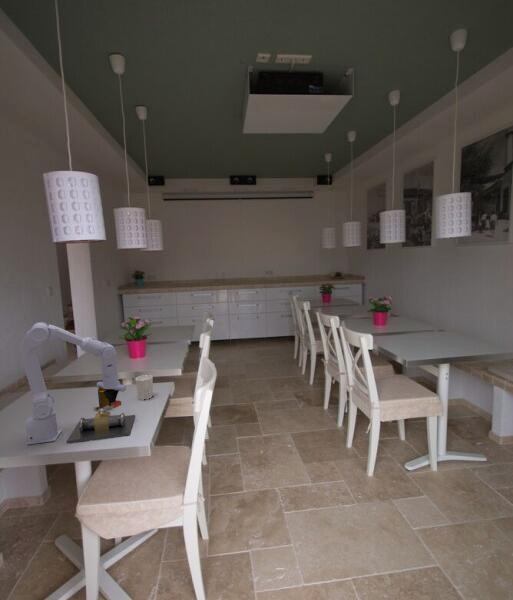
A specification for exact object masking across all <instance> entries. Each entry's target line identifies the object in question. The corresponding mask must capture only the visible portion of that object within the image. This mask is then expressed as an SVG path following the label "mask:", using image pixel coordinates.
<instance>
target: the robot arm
mask: <svg viewBox="0 0 513 600" xmlns="http://www.w3.org/2000/svg"><path fill="white" fill-rule="evenodd" d="M24 335H25V336H24V337H23V340H22V342H21V344H20V347H19V350H18V351H19V355H20V359H21V362H22V366H23V368H24V372H25V375H26V378H27V382H28V384H29V389H30V392H31V395H32V403H33V408H32V416H29V417H28V418H27V420H26V424H25V430H26V438H27V445H34V444H40V443H48V442H55V441H56V440H57V439H58V437H59V436H60V434H61V433H62V432H63V431H62V429H59V430H58V423H57V413H56V410H55V409H54V403H55V402H54V401H55V400H54V398H53V397H52V396H51V394H50V393H49V390H48V388H47V386H46V383H45V379H44V376H43V375H44V374H43V372H42V369H41V366H40V361H39V359H38V355H37V354H38V353H37V351H36V350H37V349H38V347H39V346H40V345H41V344H43V343H44V342H46V341H47V340H48V339H49V341H54V340H62V341H65V342H68V343H70V344H73V345H76V346H79V347H80V350H81V351H83V352H85V353H88V354H90V355H93V356H96V357H100V358H101V373H102V375H101V376H102V381H98V382H96V388H97V389H98V388H100V387H101V388H104V389H106V390H105V391H103V393H104V394H105V396H106V397H107V399H108V401H109V405H110V404H111V403H113V402H115V401H117V397H118V394H119V392H120V393H124V392H126V391H127V386H126V385H125V384H121V382H120V381H119V375H118V363H117V355H118V353H117V351H116V349H115V347H114V346H113V345H112V344H111V343H107V342H106V341H104V342H102V341H100V340H98V339H96V337H94V336H91V337H90V336H86V337H82V336H80V335H77V334H75V333H72V332H70V331H68V330H66V329H64V328H62V327H59V326H56V325H53V324H47V323H46V322H44V321H39V322H35V323H34V324H32V326H31V327H30V328H28V330H27V332H26V333H25V334H24Z"/></svg>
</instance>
